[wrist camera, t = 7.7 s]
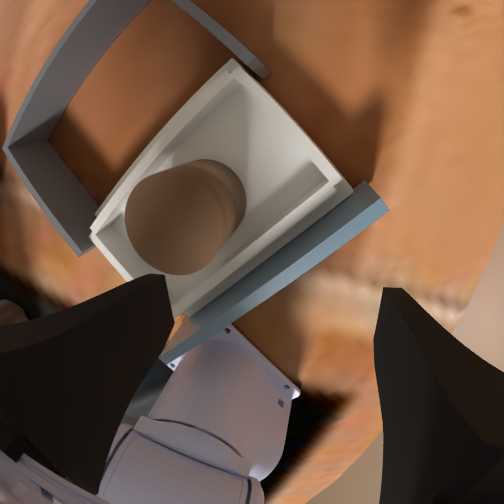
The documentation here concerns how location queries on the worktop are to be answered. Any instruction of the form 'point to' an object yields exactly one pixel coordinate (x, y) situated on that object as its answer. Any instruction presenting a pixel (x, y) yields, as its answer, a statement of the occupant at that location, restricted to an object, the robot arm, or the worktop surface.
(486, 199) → the worktop surface
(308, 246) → the tray
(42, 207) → the dock
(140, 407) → the worktop surface
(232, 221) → the beige cylinder
